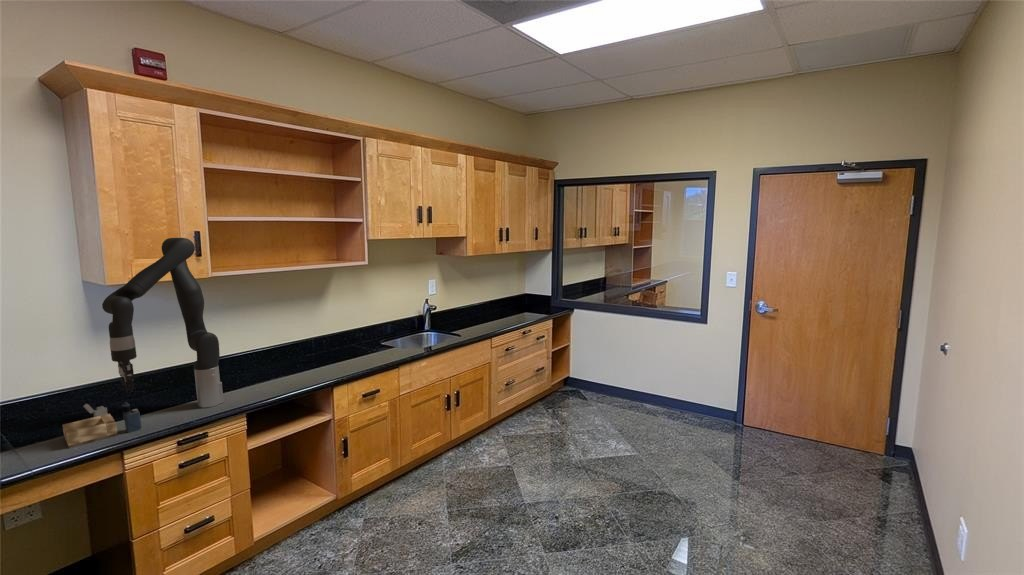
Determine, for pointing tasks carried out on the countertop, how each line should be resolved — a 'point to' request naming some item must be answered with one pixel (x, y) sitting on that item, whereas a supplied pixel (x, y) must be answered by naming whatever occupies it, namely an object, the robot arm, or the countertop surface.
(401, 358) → the countertop surface
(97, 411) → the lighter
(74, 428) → the block
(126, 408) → the vaping device
